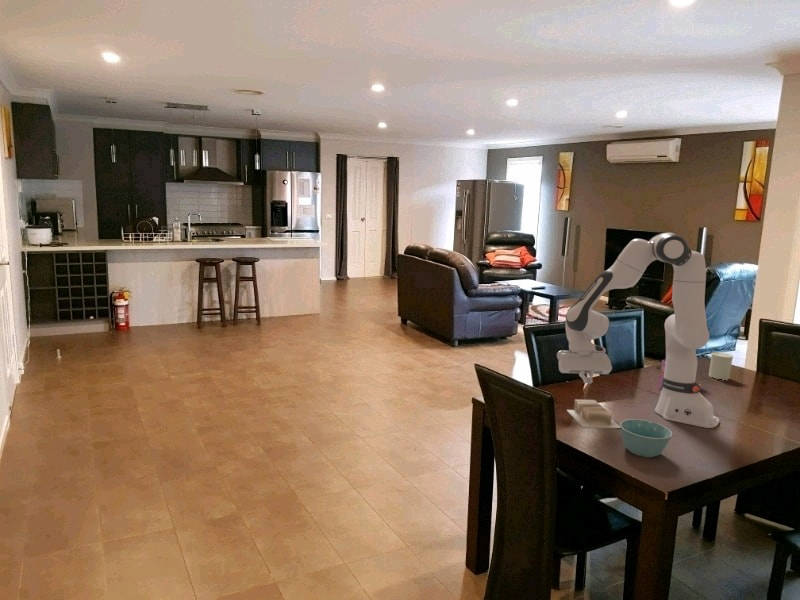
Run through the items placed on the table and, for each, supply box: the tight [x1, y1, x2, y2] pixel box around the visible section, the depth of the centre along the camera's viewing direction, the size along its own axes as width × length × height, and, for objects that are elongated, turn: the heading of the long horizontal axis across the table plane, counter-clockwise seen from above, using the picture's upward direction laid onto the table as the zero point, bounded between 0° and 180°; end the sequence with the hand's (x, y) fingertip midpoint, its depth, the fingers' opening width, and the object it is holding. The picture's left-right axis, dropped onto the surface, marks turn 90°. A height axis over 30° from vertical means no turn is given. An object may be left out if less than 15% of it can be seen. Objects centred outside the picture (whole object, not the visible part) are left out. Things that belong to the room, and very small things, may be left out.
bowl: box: [619, 418, 673, 458], centre depth 192 cm, size 16×16×8 cm
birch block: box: [573, 398, 612, 425], centre depth 221 cm, size 4×8×16 cm
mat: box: [566, 409, 621, 429], centre depth 220 cm, size 17×14×1 cm
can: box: [708, 351, 734, 381], centre depth 284 cm, size 9×9×12 cm
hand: (588, 382), depth 225 cm, fingers closed
